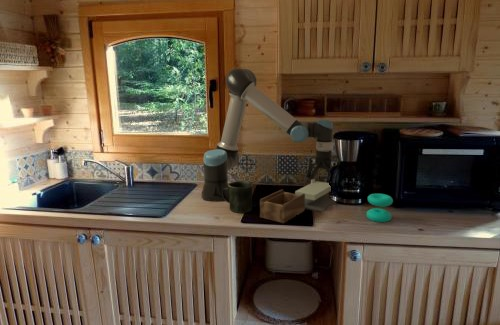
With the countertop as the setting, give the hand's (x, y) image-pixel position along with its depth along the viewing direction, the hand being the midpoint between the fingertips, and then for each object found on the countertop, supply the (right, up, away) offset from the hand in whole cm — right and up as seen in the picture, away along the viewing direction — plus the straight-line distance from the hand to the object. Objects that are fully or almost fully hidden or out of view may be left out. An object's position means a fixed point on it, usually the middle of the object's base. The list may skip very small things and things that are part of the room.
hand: (322, 193), depth 179 cm
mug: (-42, -6, -16) cm, 45 cm away
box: (-22, -7, -22) cm, 32 cm away
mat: (-4, -3, -5) cm, 7 cm away
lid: (-5, +1, -7) cm, 8 cm away
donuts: (+18, -9, -28) cm, 34 cm away
